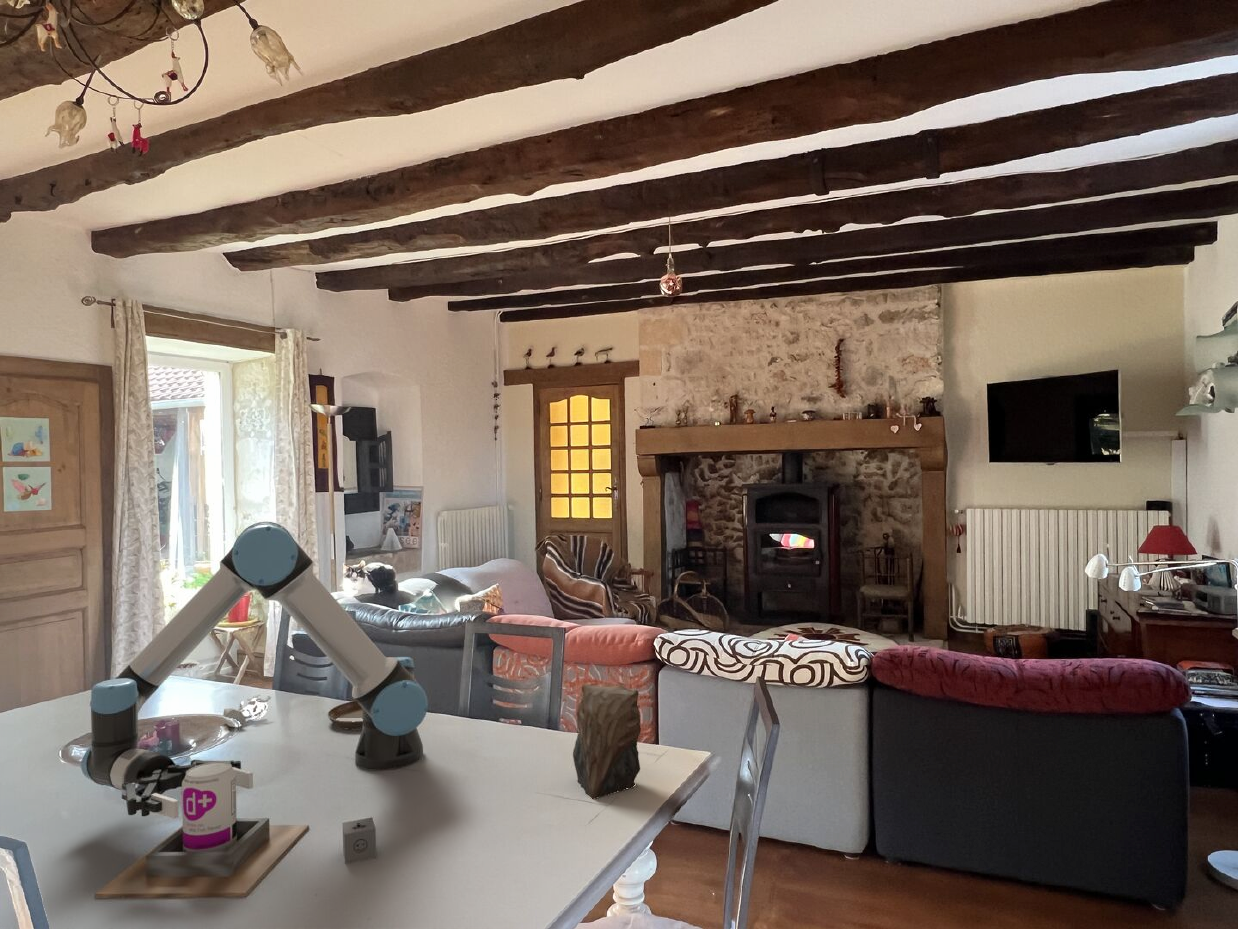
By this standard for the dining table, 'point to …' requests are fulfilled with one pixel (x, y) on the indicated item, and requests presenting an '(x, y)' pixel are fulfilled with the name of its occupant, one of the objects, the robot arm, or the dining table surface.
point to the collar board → (207, 864)
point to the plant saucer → (347, 715)
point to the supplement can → (209, 808)
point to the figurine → (248, 710)
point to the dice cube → (359, 840)
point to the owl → (607, 739)
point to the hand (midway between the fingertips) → (215, 794)
